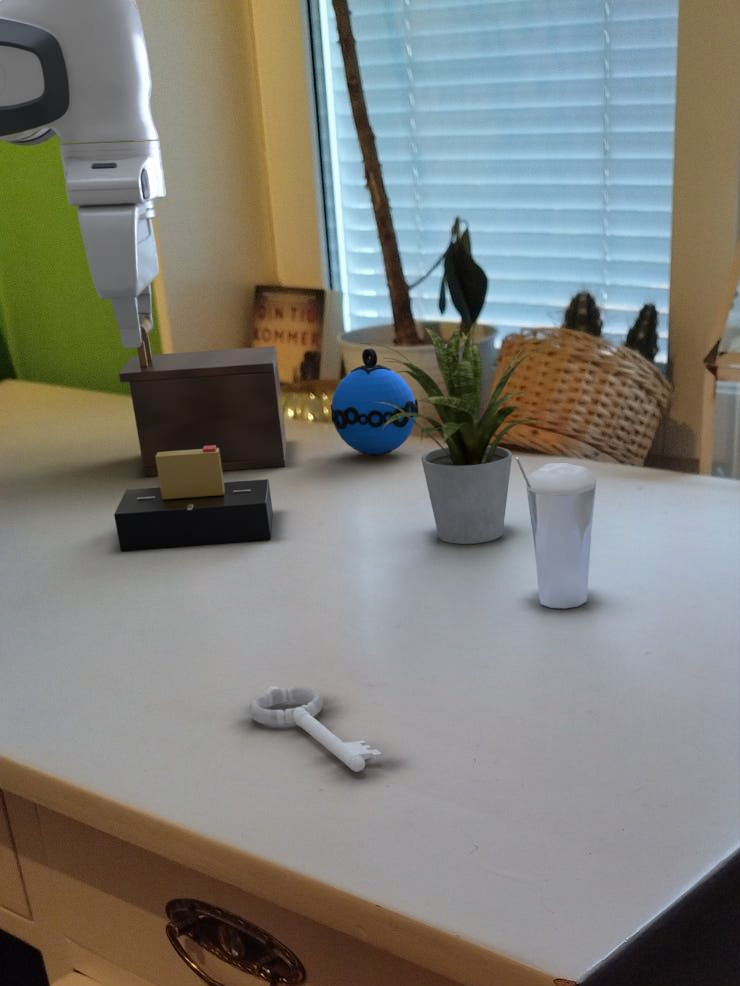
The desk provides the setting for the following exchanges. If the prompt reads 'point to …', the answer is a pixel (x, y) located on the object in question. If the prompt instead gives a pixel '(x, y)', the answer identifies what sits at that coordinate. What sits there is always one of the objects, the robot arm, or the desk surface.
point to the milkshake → (561, 531)
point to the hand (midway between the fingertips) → (138, 339)
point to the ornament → (373, 408)
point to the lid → (194, 362)
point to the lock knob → (190, 473)
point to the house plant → (464, 444)
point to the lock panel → (194, 517)
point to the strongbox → (212, 418)
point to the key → (309, 722)
